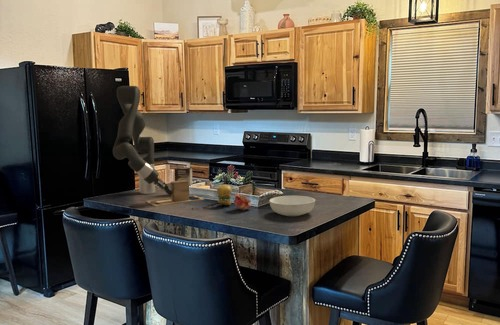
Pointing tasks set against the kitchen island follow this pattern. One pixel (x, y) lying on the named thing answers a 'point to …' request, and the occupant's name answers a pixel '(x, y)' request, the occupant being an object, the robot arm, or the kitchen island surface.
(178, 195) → the block
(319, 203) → the kitchen island surface
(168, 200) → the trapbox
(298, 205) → the serving bowl
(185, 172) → the coffee box
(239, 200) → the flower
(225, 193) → the hamburger
